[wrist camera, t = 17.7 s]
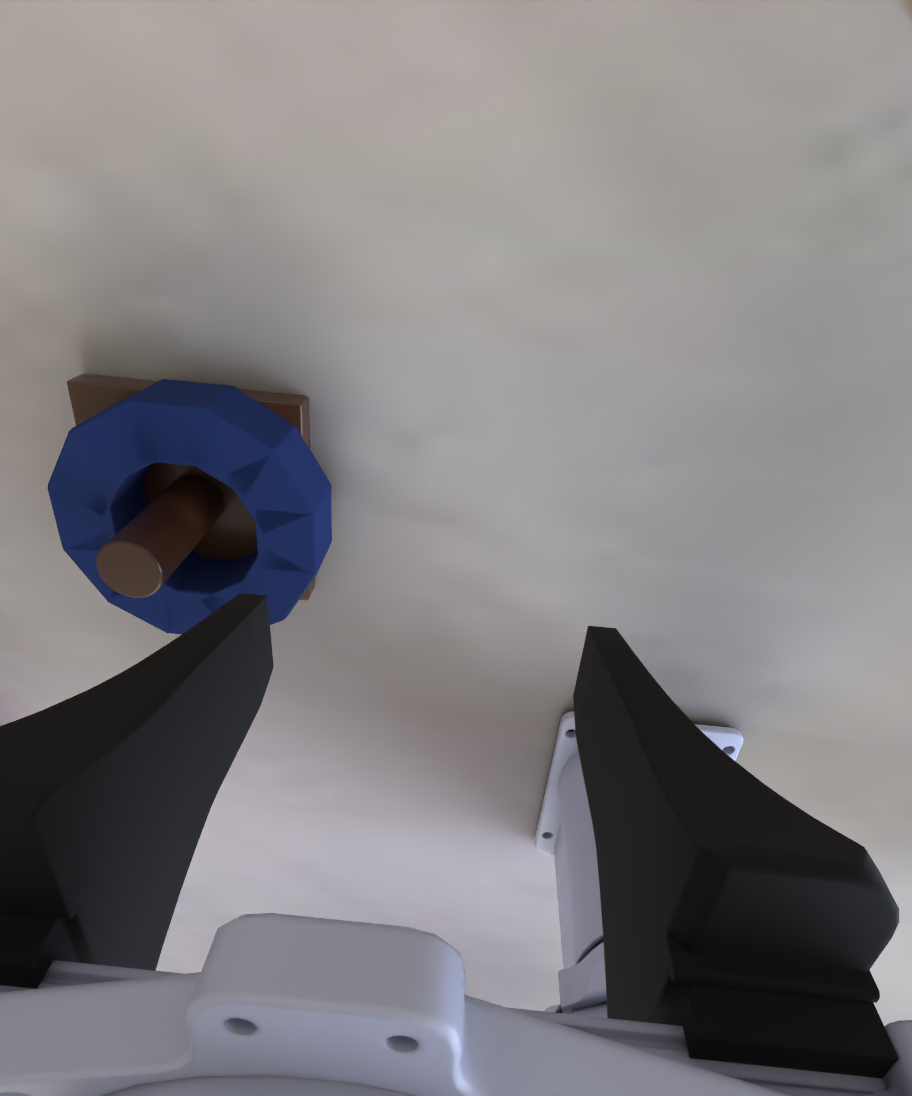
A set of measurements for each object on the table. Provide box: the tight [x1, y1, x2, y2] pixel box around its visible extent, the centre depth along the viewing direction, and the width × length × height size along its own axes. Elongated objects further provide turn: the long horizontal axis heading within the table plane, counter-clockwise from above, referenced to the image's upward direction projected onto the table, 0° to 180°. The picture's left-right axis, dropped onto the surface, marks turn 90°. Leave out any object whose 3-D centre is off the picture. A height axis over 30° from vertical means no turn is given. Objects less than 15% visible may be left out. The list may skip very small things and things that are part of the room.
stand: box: [67, 374, 314, 600], centre depth 22 cm, size 8×8×6 cm
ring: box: [48, 379, 332, 634], centre depth 23 cm, size 9×9×2 cm
